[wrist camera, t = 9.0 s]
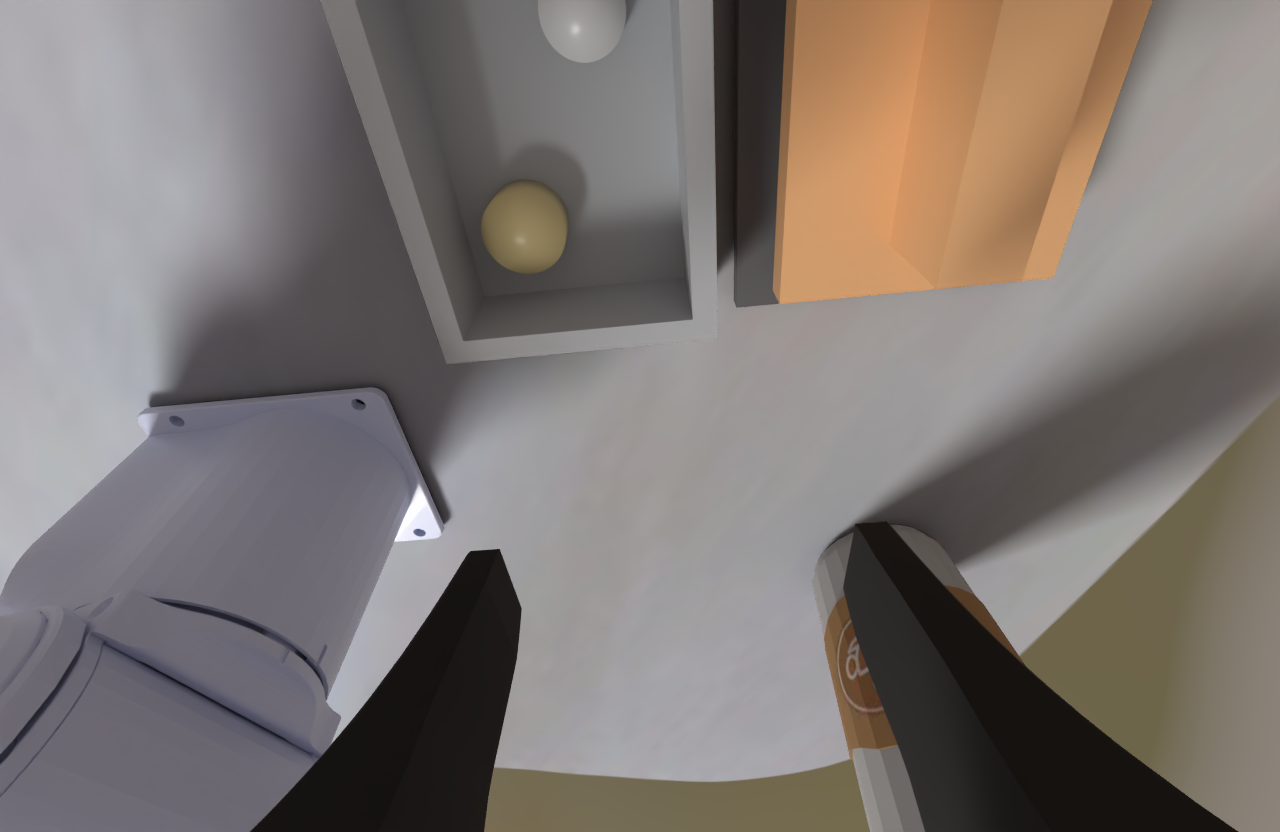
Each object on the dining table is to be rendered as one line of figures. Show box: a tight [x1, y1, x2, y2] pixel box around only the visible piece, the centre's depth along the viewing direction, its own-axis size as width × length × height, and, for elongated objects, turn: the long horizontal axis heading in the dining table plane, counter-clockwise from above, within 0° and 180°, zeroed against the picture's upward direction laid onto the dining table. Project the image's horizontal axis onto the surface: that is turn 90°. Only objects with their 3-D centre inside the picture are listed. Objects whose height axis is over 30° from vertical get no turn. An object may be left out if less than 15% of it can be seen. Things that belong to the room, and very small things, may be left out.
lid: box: [773, 0, 1153, 304], centre depth 13 cm, size 8×11×5 cm
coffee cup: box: [813, 525, 1025, 832], centre depth 22 cm, size 8×8×15 cm
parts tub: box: [320, 0, 718, 364], centre depth 15 cm, size 8×11×4 cm
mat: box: [734, 0, 787, 307], centre depth 15 cm, size 10×13×1 cm
